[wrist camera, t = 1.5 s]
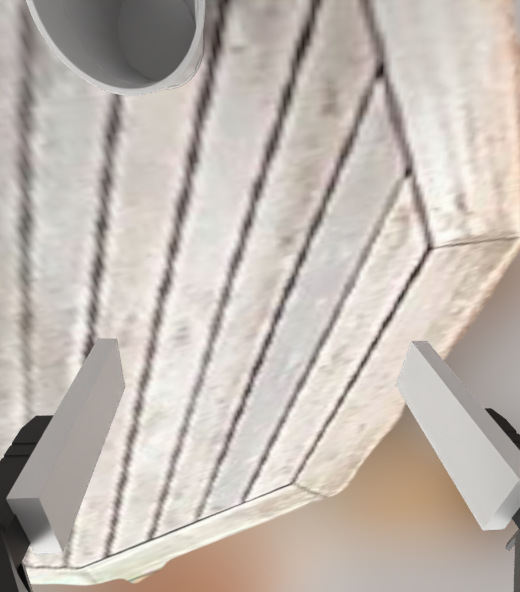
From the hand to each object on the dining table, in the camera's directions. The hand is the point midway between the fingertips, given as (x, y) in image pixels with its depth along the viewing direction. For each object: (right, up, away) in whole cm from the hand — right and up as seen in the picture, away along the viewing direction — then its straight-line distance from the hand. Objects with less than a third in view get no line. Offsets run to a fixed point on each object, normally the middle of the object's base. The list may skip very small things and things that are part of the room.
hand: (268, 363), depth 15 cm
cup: (-8, +23, +10) cm, 26 cm away
